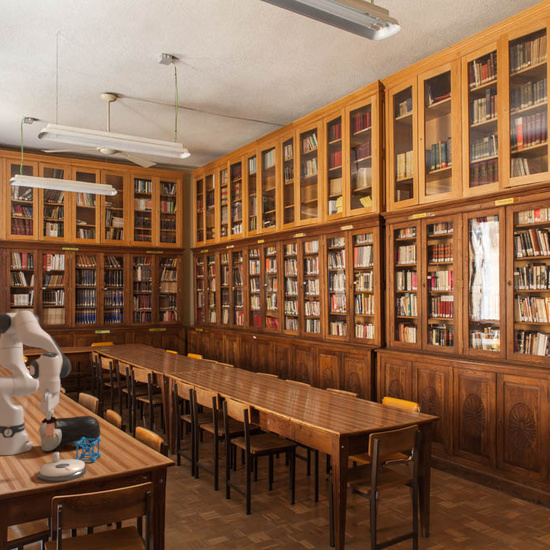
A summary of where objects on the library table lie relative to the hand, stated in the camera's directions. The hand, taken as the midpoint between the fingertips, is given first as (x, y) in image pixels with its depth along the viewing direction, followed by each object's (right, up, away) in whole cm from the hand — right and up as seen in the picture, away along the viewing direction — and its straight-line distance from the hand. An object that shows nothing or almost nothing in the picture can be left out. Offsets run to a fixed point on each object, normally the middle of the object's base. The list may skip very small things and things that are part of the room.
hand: (49, 418), depth 241 cm
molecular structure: (+12, -25, +17) cm, 32 cm away
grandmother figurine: (0, -9, -1) cm, 9 cm away
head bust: (-5, -26, +37) cm, 45 cm away
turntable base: (+7, -24, -4) cm, 26 cm away
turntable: (+7, -22, -3) cm, 23 cm away
